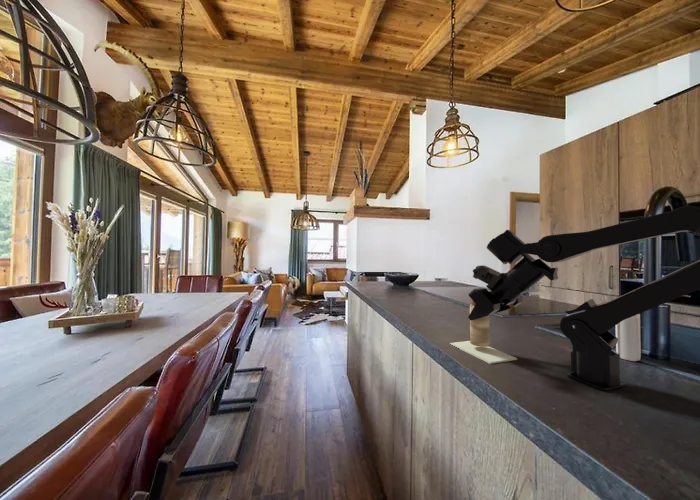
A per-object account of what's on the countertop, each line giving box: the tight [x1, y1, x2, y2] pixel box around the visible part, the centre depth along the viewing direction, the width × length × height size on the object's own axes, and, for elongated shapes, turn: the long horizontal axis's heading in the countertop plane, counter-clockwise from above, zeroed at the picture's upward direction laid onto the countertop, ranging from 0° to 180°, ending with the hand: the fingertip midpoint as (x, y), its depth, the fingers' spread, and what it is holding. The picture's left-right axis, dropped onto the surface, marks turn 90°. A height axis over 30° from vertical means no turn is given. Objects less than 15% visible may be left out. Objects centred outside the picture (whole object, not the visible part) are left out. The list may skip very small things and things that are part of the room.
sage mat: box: [449, 340, 518, 365], centre depth 69 cm, size 14×8×1 cm, turn 17°
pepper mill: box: [469, 299, 491, 347], centre depth 70 cm, size 5×5×12 cm
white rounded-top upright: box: [615, 313, 642, 362], centre depth 67 cm, size 10×4×12 cm, turn 134°
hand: (474, 317), depth 71 cm, fingers closed on pepper mill, 5 cm apart
